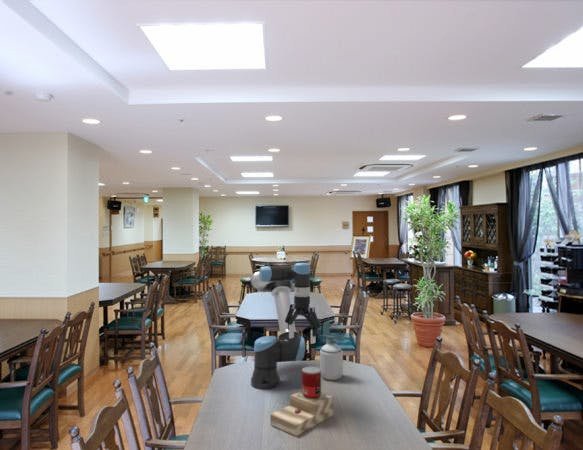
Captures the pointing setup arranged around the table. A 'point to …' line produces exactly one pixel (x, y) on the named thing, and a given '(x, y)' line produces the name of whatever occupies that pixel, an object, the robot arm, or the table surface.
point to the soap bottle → (331, 356)
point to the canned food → (311, 382)
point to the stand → (302, 413)
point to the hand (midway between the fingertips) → (302, 340)
